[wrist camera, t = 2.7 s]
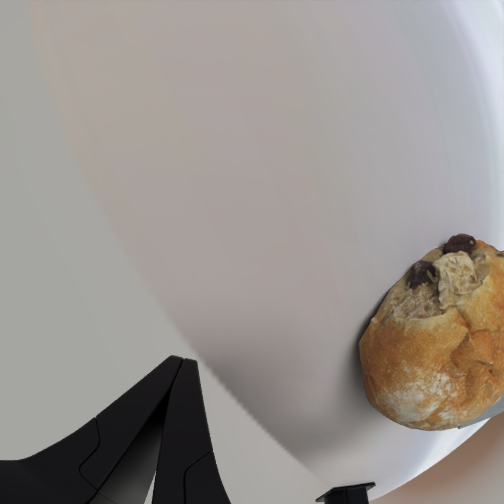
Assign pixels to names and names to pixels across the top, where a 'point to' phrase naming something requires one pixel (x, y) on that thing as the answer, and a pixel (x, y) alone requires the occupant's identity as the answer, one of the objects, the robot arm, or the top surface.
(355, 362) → the top surface
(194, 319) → the top surface
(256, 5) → the top surface
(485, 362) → the bread roll
